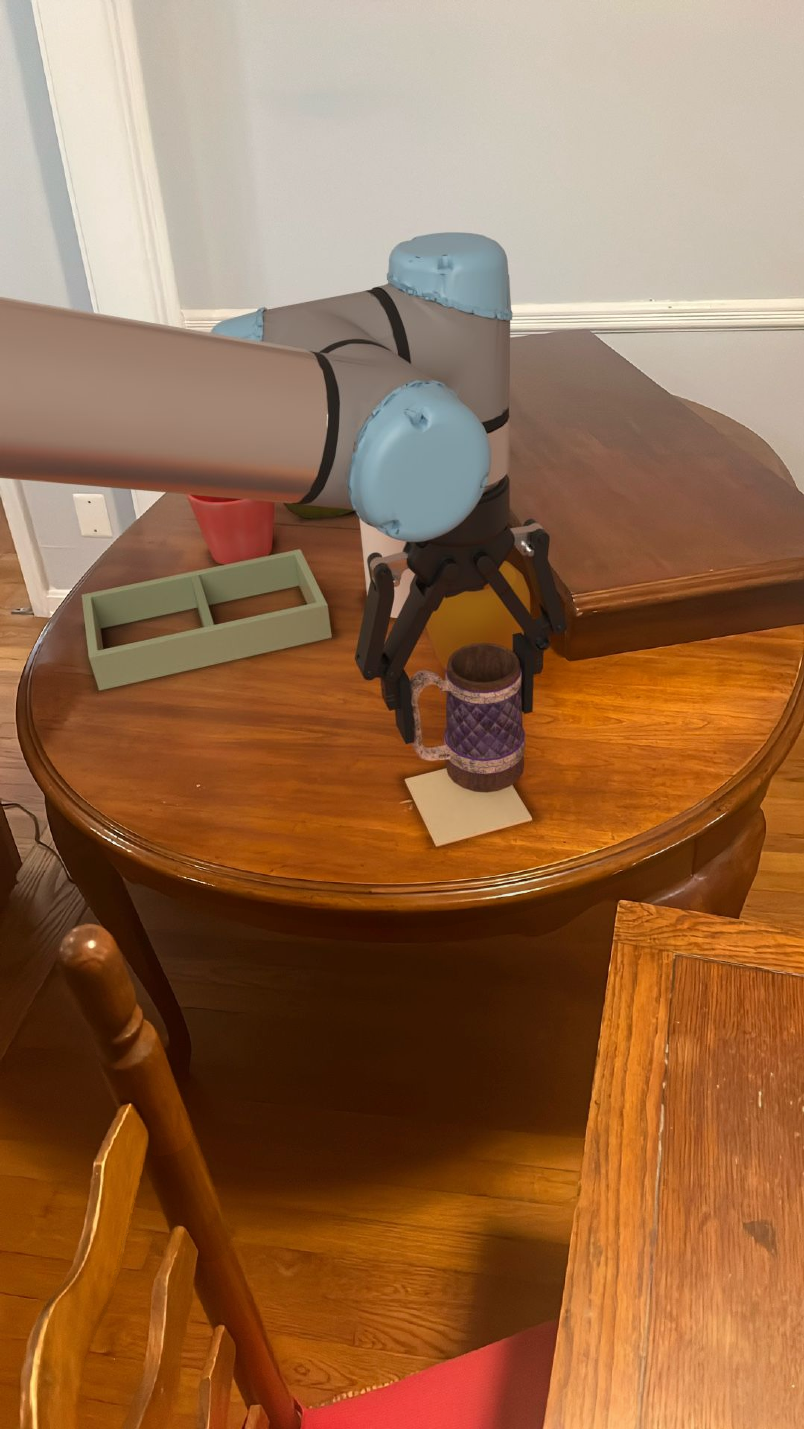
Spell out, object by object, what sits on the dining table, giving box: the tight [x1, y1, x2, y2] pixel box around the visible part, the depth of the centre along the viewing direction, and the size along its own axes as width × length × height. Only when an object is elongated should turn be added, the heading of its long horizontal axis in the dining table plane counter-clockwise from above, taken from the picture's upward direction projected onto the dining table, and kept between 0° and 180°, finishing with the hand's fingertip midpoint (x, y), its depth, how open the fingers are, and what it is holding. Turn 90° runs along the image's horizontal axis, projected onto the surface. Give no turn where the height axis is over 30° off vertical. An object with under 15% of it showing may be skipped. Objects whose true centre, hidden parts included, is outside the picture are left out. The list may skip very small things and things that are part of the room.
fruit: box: [282, 503, 355, 520], centre depth 134 cm, size 11×12×7 cm
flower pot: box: [186, 494, 275, 565], centre depth 126 cm, size 11×11×10 cm
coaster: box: [404, 767, 533, 848], centre depth 90 cm, size 9×9×1 cm
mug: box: [409, 643, 526, 793], centre depth 85 cm, size 10×7×12 cm
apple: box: [425, 560, 531, 671], centre depth 102 cm, size 11×11×13 cm
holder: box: [81, 548, 333, 691], centre depth 113 cm, size 26×14×4 cm, turn 107°
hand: (464, 718), depth 84 cm, fingers closed on mug, 10 cm apart
